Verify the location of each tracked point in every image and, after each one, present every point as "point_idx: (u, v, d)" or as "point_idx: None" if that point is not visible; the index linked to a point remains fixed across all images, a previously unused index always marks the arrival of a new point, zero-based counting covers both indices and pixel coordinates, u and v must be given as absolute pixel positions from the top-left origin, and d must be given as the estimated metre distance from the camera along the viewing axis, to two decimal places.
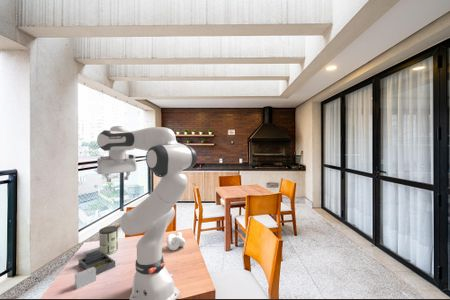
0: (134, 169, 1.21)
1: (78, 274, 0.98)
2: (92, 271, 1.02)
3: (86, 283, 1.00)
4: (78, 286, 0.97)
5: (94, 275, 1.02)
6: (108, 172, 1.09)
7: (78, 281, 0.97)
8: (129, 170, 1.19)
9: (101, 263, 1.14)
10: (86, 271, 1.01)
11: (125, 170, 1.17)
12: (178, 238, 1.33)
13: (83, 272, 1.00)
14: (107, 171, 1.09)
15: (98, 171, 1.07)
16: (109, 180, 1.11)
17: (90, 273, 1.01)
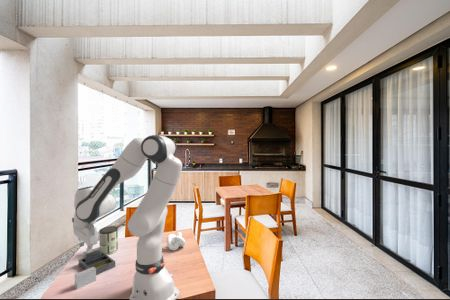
0: None
1: (78, 274, 0.98)
2: (92, 271, 1.02)
3: (86, 283, 1.00)
4: (78, 286, 0.97)
5: (94, 275, 1.02)
6: None
7: (78, 281, 0.97)
8: None
9: (101, 263, 1.14)
10: (86, 271, 1.01)
11: None
12: (178, 238, 1.33)
13: (83, 272, 1.00)
14: None
15: (94, 242, 0.94)
16: None
17: (90, 273, 1.01)
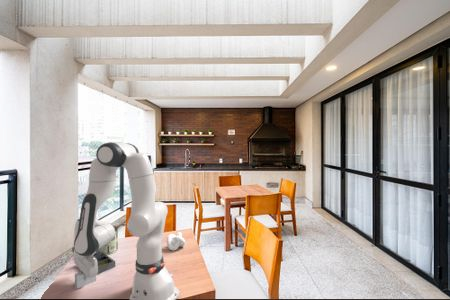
0: None
1: (78, 274, 0.98)
2: None
3: (86, 283, 1.00)
4: (78, 286, 0.97)
5: None
6: None
7: (78, 281, 0.97)
8: None
9: (101, 263, 1.14)
10: None
11: None
12: (178, 238, 1.33)
13: (83, 272, 1.00)
14: None
15: (94, 273, 0.95)
16: None
17: None
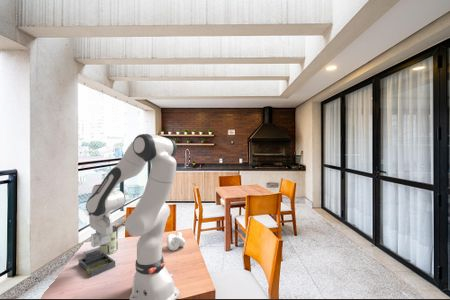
0: None
1: (94, 234, 1.09)
2: None
3: (101, 243, 1.11)
4: (94, 244, 1.08)
5: (108, 237, 1.14)
6: None
7: (94, 240, 1.08)
8: None
9: (101, 263, 1.14)
10: None
11: None
12: (178, 238, 1.33)
13: (99, 233, 1.11)
14: None
15: (109, 232, 1.06)
16: None
17: None
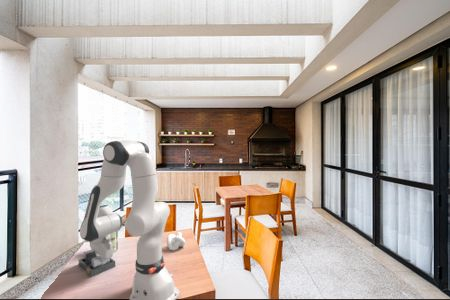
0: None
1: (95, 258, 1.09)
2: None
3: None
4: None
5: (108, 260, 1.14)
6: None
7: (95, 265, 1.08)
8: None
9: None
10: (101, 256, 1.12)
11: None
12: (178, 238, 1.33)
13: (99, 257, 1.11)
14: None
15: (110, 255, 1.06)
16: None
17: None
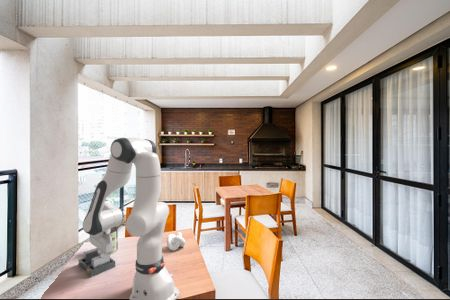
0: None
1: (95, 258, 1.09)
2: (107, 256, 1.13)
3: None
4: None
5: (108, 260, 1.14)
6: None
7: (95, 265, 1.08)
8: None
9: None
10: None
11: None
12: (178, 238, 1.33)
13: (99, 257, 1.11)
14: None
15: (110, 250, 1.06)
16: None
17: (105, 258, 1.12)
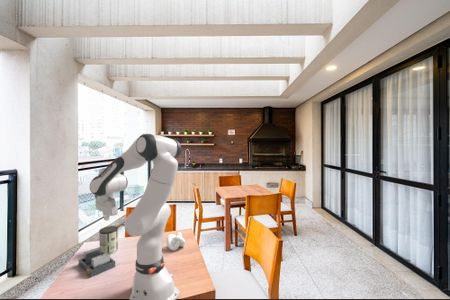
0: None
1: (95, 258, 1.09)
2: (107, 256, 1.13)
3: None
4: None
5: (108, 260, 1.14)
6: None
7: (95, 265, 1.08)
8: None
9: None
10: (101, 256, 1.12)
11: None
12: (178, 238, 1.33)
13: (99, 257, 1.11)
14: None
15: (115, 212, 1.14)
16: None
17: (105, 258, 1.12)
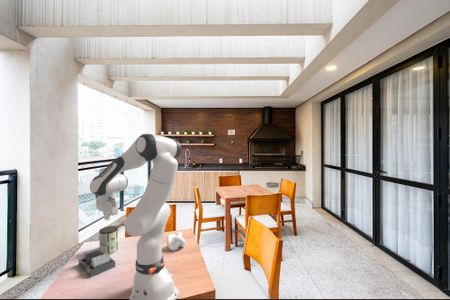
0: None
1: (95, 258, 1.09)
2: (107, 256, 1.13)
3: None
4: None
5: (108, 260, 1.14)
6: None
7: (95, 265, 1.08)
8: None
9: None
10: (101, 256, 1.12)
11: None
12: (178, 238, 1.33)
13: (99, 257, 1.11)
14: None
15: (115, 212, 1.14)
16: None
17: (105, 258, 1.12)
